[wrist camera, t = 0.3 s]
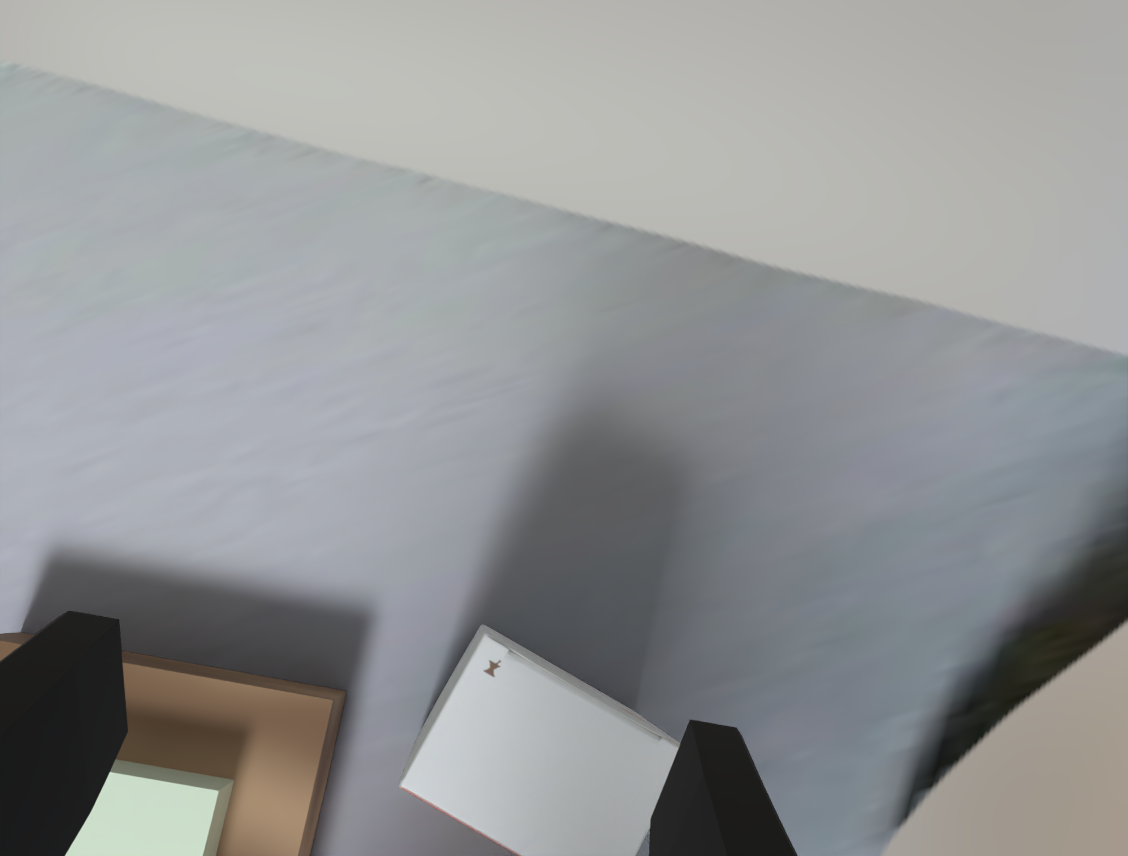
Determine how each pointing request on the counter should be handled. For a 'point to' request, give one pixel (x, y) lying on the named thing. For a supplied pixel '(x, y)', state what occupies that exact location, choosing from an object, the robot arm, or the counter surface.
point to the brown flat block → (234, 743)
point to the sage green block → (155, 813)
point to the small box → (538, 756)
